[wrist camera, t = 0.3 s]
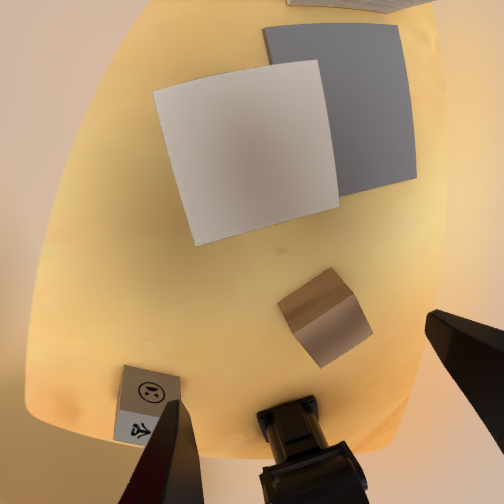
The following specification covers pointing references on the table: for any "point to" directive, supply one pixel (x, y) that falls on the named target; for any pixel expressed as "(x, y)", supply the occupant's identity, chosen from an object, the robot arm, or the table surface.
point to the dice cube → (142, 403)
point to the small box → (362, 4)
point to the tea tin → (249, 148)
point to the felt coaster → (357, 97)
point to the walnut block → (325, 318)
